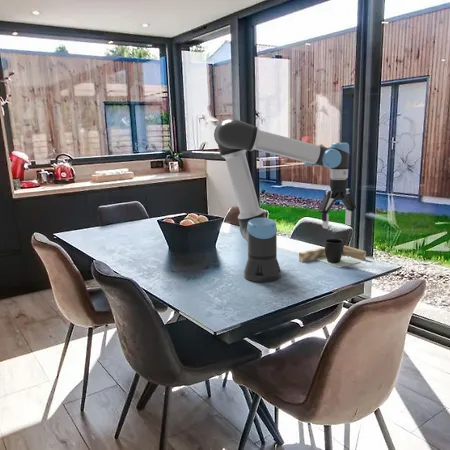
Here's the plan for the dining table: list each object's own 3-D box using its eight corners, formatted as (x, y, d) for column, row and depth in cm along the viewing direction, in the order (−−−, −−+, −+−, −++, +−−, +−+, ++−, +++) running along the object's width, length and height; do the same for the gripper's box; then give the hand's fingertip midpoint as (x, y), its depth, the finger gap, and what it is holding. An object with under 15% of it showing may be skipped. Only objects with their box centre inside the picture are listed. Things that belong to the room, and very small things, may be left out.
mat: (338, 267, 186) (338, 266, 186) (315, 259, 199) (315, 258, 198) (360, 262, 192) (360, 261, 192) (336, 254, 205) (336, 254, 205)
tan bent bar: (323, 269, 183) (323, 260, 183) (299, 260, 197) (299, 252, 196) (365, 259, 196) (365, 251, 195) (339, 252, 209) (340, 244, 209)
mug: (351, 259, 196) (352, 239, 194) (336, 265, 188) (336, 244, 186) (336, 256, 202) (336, 236, 200) (320, 261, 194) (320, 241, 192)
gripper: (323, 181, 178) (321, 231, 182) (365, 177, 190) (363, 224, 195) (311, 179, 184) (309, 228, 189) (352, 176, 197) (350, 222, 201)
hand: (336, 226), depth 192 cm, fingers open, 13 cm apart
